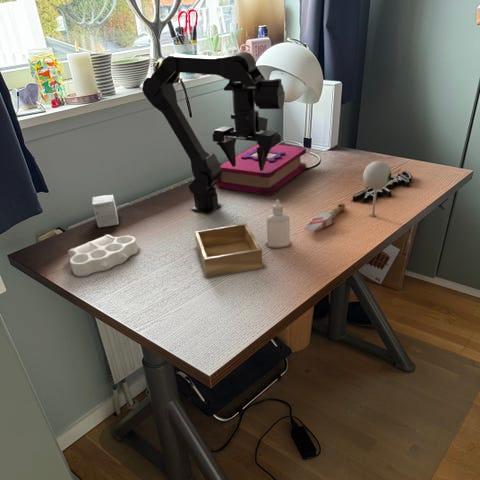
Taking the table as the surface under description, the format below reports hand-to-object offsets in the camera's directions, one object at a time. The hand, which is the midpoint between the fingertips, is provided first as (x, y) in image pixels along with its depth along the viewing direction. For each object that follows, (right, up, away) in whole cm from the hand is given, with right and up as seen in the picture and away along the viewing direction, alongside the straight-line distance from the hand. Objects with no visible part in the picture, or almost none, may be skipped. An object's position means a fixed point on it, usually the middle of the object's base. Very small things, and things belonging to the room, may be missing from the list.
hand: (247, 168), depth 131 cm
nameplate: (+43, -2, +15) cm, 46 cm away
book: (+6, +7, +31) cm, 32 cm away
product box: (-41, -13, +9) cm, 44 cm away
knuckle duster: (-37, -27, -10) cm, 47 cm away
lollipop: (+35, -13, 0) cm, 38 cm away
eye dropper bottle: (+8, -23, -10) cm, 26 cm away
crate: (-5, -27, -14) cm, 31 cm away
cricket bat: (+22, -15, -1) cm, 27 cm away
